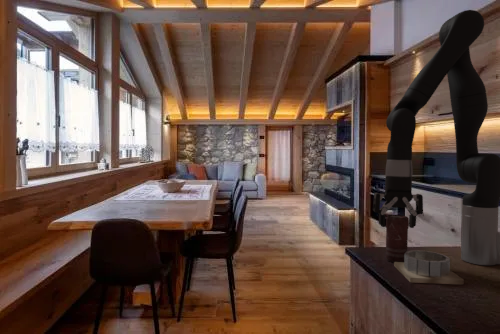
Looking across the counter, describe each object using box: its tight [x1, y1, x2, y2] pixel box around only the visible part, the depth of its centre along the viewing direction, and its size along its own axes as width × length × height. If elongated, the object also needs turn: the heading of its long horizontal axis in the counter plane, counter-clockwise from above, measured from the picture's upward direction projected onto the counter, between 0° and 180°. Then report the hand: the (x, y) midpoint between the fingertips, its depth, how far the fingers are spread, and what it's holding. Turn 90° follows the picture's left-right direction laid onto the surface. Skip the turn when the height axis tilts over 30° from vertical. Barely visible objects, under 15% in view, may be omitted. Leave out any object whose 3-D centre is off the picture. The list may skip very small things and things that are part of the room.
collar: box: [404, 249, 451, 277], centre depth 94 cm, size 11×11×4 cm
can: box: [385, 214, 410, 264], centre depth 106 cm, size 6×6×14 cm
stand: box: [393, 262, 465, 285], centre depth 94 cm, size 13×13×1 cm
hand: (396, 227), depth 105 cm, fingers open, 8 cm apart
